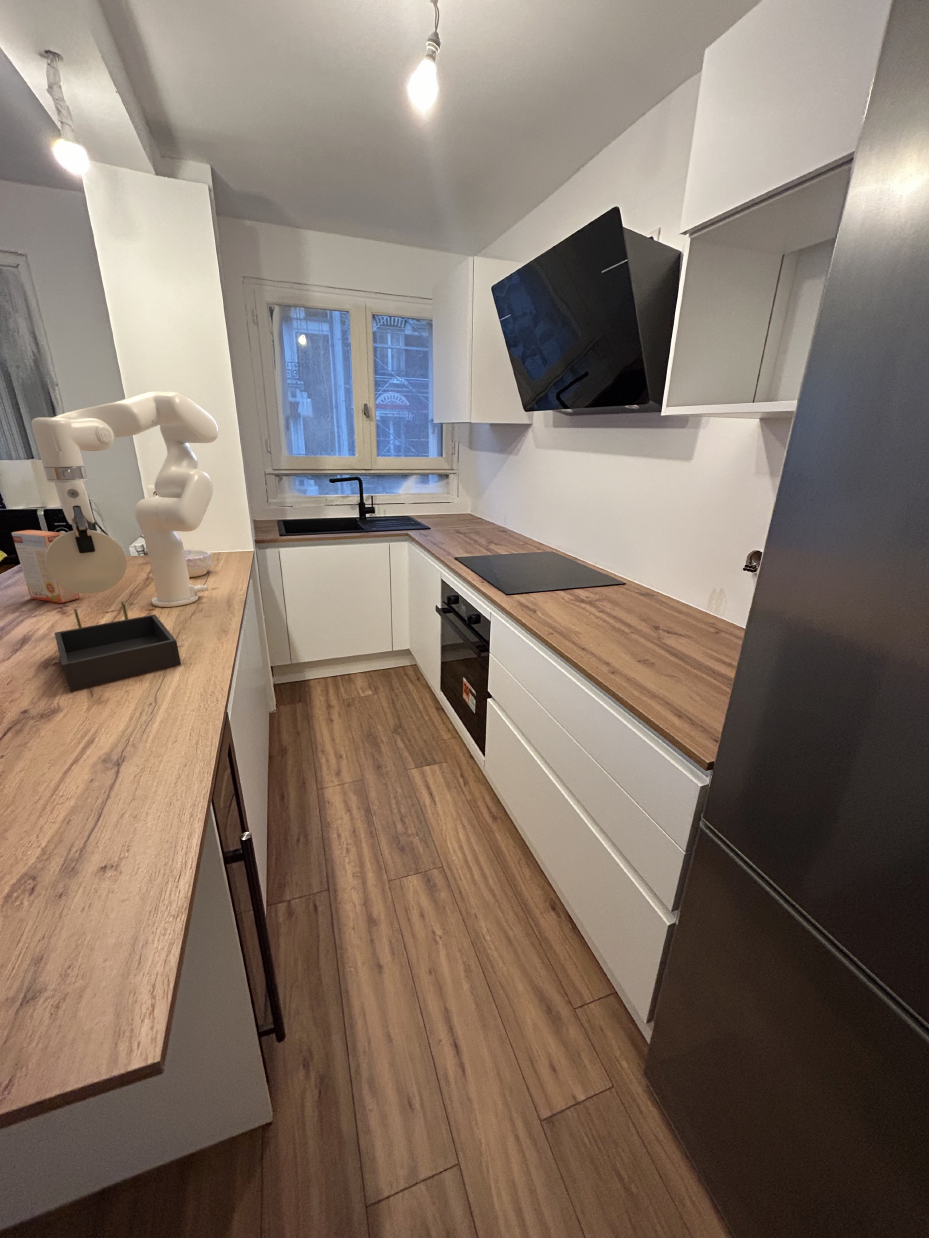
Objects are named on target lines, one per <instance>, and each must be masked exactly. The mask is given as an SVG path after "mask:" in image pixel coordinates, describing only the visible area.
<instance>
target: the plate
mask: <svg viewBox="0 0 929 1238" xmlns="http://www.w3.org/2000/svg"><path fill="white" fill-rule="evenodd" d="M89 532H90V536H92V540H93V544H94V547H95V552H89V553H79V550H78V546H77V543H76V539H75V537H76V534H75V530H71V531H67V532H64V533H63V534H62V535H61V536H59V537H57V538H56V539H55V540H54V541H53V542H52V543H51V544H50V546H49V547H48V550H47V552H46V558H45V561H46V567H47V570H48V572H49V574H50V575H51V577H52V578H53V579H54V580H55V581H56V582H57V583H58V584H59V585H61V586H62V587H64V588H66V589H68V590H70V591H73V592H77V593H79V594H82V595H83V594H84V595H85V594H86V595H92V594H93V595H94V594H99V593H104V592H106V591H108V590H111V589H112V588H114V587H115V586H116V585H117V584H119V583H120V582H121V581H122V579H123V578H124V576H125V574H126V571H127V567H128V560H127V556H126V553H125V551H124V549H123V547H121V545H120V544H119V543H118V542H117V540H115V539H113V538H112V537H110V536H109V535H107V534H106V533H103V532H100V531H97V530H91V529H89Z"/></svg>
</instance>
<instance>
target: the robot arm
mask: <svg viewBox="0 0 929 1238" xmlns="http://www.w3.org/2000/svg"><path fill="white" fill-rule="evenodd" d="M158 426H159V430H160V433H161V436H162V439H163V441H164V445H165V447H166V453H167V454H166V457H165V459H164V461H163V463H162V465H161V468H160V469H159V472H158V474H157V476H156V479H155V481H154V491H155V493H156V495H157V496H151V497H145V498H142V499H140V500H139V501H138V502H137V503H136V504H135V507H134V516H135V521H136V522H137V524H138V526H139V529H140V531H141V533H142V536H143V540H144V543H145V549H146V552H147V557H148V561H149V566H150V571H151V576H152V580H153V585H154V586H153V587H154V590H155V595H156V596H155V597H153V598H152V599H151V604H152V605H153V606H155V607H162V608H171V607H180V606H184V605H185V606H186V605H188V604H191V603H195V602H196V601H198V600H199V594H198V593H201V592H209V587H208V584H203V585H202V584H196V585H193V584H192V583H191V580H190V577H189V574H188V569H187V563H186V558H185V553H184V550H185V547H184V543H183V541H182V539H181V537H180V535H179V534H178V532H186V533H187V532H193V531H196V530H197V529H198V528H199V527H200V525H201V523H202V521H203V519H204V516H205V514H206V512H207V510H208V507H209V505H210V503H211V501H212V497H213V492H214V487H213V486H214V485H213V481H212V479H211V477H210V476H209V474H207V472H206V471H203V470H200V469H198V466H199V463H198V462H199V461H198V459H197V456H196V454H195V453H194V451H193V450H192V448H191V447H190V446H191V445H190V444H210V443H213V442H215V441H216V440H217V439H218V436H219V427H218V424H217V422H216V420H215V418H213V416H212V415H210V413H208V412H207V411H206V410H205V409H203V407H201V406H200V405H198V404H197V403H196V402H194V401H193V400H192V399H191V398H189V397H187V396H186V395H184V394H182V393H180V392H177V391H147V392H142V393H139V394H135V395H133V396H131V397H127V398H123V399H121V400H118V401H114V402H109V403H108V402H107V403H103V404H99V405H95V406H90V407H84V408H81V409H80V408H79V409H75V410H72V411H71V410H70V411H68V412H65V413H62V414H59V415H56V416H53V417H35V418H33V419H32V420H31V429H32V432H33V436H34V439H35V443H36V446H37V449H38V453H39V456H40V460H41V464H42V466H43V470H44V474H45V479H46V481H47V482H48V483H54V485H55V489H56V493H57V496H58V499H59V502H60V503H59V504H60V506H61V509H62V512H63V514H64V516H65V518H66V521H67V522H68V524H69V525H71V526H72V529H73V530H72V531H74V530H75V534H76V537H75V539H76V543H77V546H78V550H79V553H89V552H95V547H94V544H93V540H92V536H90V532H89V530H90V529H89V524H88V523H91V524H95V523H96V522H95V518H94V515H93V511H92V507H91V503H90V500H89V497H88V496H89V495H88V493H87V489H86V487H85V484H84V482H86V481H89V480H88V475H87V472H86V468H85V465H84V461H83V456H82V452H81V451H83V452H84V451H85V452H101V451H105V450H108V449H109V448H111V447H112V446H113V444H114V441H115V438H124V437H130V436H136V435H139V434H141V433H144V432H146V431H149V430H150V429H153V428H155V427H158Z"/></svg>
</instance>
